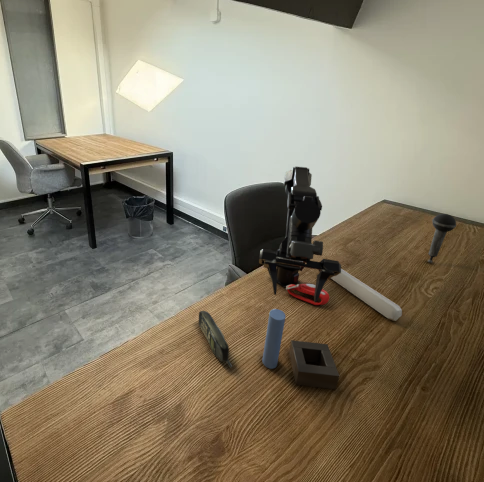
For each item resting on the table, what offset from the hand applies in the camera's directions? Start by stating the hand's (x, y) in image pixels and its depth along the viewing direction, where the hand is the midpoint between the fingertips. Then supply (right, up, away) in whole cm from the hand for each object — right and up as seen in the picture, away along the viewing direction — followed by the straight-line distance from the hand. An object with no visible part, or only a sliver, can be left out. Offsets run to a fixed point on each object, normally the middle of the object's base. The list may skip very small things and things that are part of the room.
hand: (294, 298), depth 72 cm
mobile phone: (-19, -13, +3) cm, 23 cm away
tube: (+27, -7, +23) cm, 36 cm away
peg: (-6, -14, -1) cm, 16 cm away
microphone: (+65, -1, +43) cm, 78 cm away
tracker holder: (+11, -7, +22) cm, 26 cm away
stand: (+3, -15, -3) cm, 16 cm away
